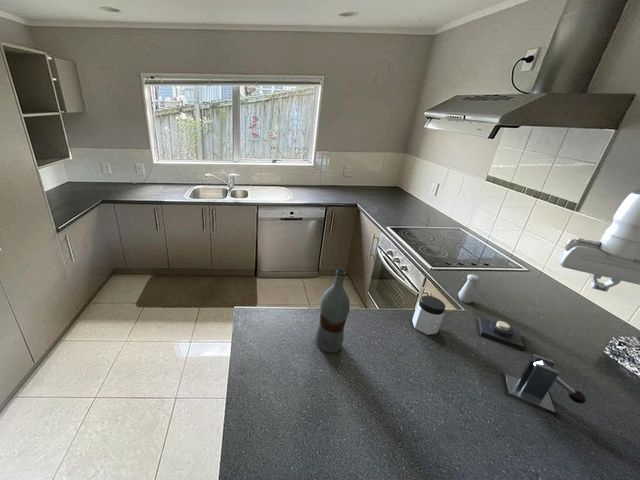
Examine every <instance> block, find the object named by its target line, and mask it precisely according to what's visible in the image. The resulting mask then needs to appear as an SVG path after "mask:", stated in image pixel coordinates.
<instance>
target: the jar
mask: <svg viewBox="0 0 640 480" xmlns="http://www.w3.org/2000/svg"><path fill="white" fill-rule="evenodd" d="M445 310H446V304H445V302H443V301H442V300H441V299H440V298H437V297H436V296H432V295H422V296H421V297H420V298H419V301H418V302H417V304H416V307H415V310H414V313H413V316H412V319H411V321H412V325H413V328H414V329H415V330H417V331H419V332H421V333H423V334H424V335H426V336H429V335H436V334H438V332H439V329H440V327H441V325H442V322H443V319H444V316H445Z"/></svg>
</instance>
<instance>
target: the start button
mask: <svg viewBox="0 0 640 480" xmlns="http://www.w3.org/2000/svg"><path fill="white" fill-rule="evenodd" d="M497 321H498V322H497V324H496V327H497V328H499V329H501V330H503V331H508V330H509V328H510V327H511V326H510V325H509V323H507V322H505V321H502V320H497Z"/></svg>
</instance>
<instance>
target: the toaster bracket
mask: <svg viewBox="0 0 640 480" xmlns="http://www.w3.org/2000/svg"><path fill="white" fill-rule="evenodd" d="M540 360H543V361H544V362H545V363H546V364H548V365H549V366H550V367H551V368H549V367H546V366H543V365H540V364H538V363H536V365H535V367H534V364H533V363H534V362H537V361H540ZM555 363H556V362H555V360H553V359H550V358H547V357H544V356H541V355H538V354H535V353H533V354H532V355H531V357H530V359H529V361H528V362H527V364H526V365H525V368H524V370H523V371H522V373H521V374H520V377H519V378H517V377H515V376H512V375H509V374H507V373H504V377H505V381H506V387H507V390H508V394H509V395H511V396H514V397H516V398H519V399H521V400H523V401H526V402H528V403H530V404H533V405H535V406H537V407H540V408H543V409H545V410H547V411H550V412H552V413H554V414H556V410H555V407H554V404H553V401H552V398H551V396H550V393H549V390H550V388H551V387H552V386H553V384H554V383H555V382H556V381H555V379H556V378H557V377H559V375H560V372H559V370H556V369H554V368H553V367H554V366H555Z"/></svg>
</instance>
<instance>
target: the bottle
mask: <svg viewBox="0 0 640 480" xmlns="http://www.w3.org/2000/svg"><path fill="white" fill-rule="evenodd" d="M335 272H336V273H335V278H334V284H333V285H331V286H330V287H329V288H328V289H326V290H325V291H324V293H323V295H322V297H321V299H320V300H321V301H320V312H319V321H318V324H317V328H316V331H315V343H316V345H317V347H318V348H319V349H320V350H321V351H323V352H325V353H328V354H329V353H330V354H331V353H337V352H339V350H340V349H341V347H342V345H343V343H344V335H345V334H344V331H345V325H346V322H347V319H348V315H349V313H350V306H351V303H350V297H349V295H348V293H347V292H346V289H345V287H344V283H345V282H344V281H345V275H346V270H344V269H341V268H338V269H337V270H336V271H335Z"/></svg>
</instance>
